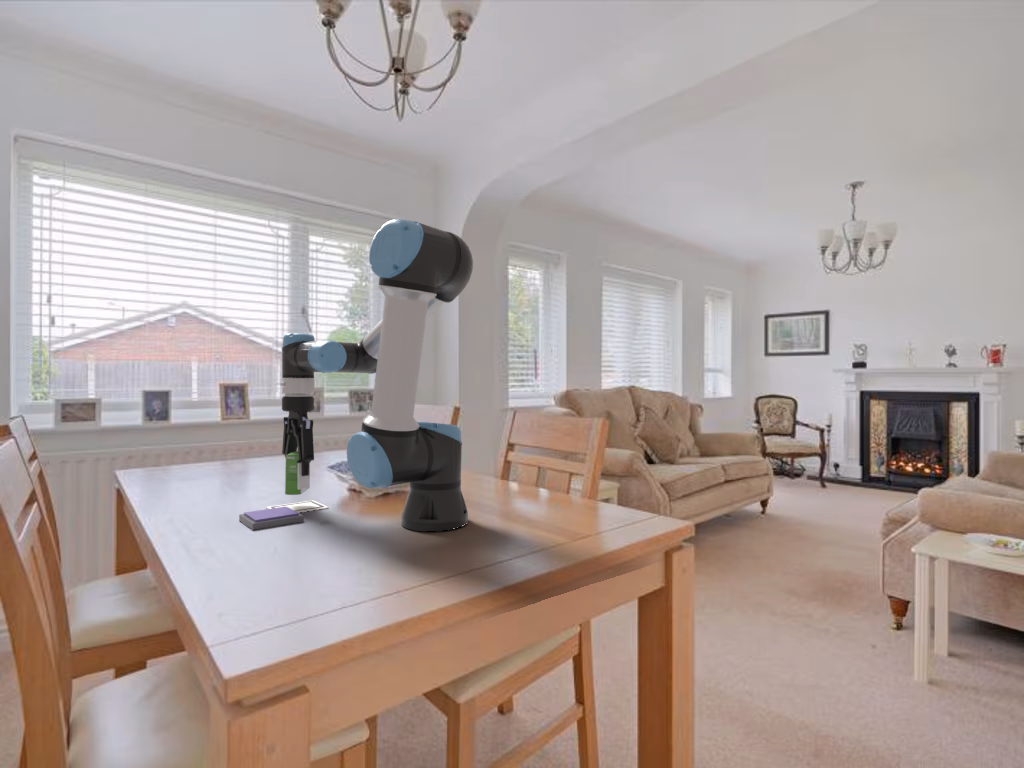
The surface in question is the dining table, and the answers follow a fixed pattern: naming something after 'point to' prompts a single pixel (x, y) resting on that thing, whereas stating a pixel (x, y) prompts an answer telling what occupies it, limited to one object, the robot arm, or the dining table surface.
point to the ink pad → (270, 517)
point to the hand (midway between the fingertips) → (297, 485)
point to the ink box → (292, 474)
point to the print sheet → (302, 506)
